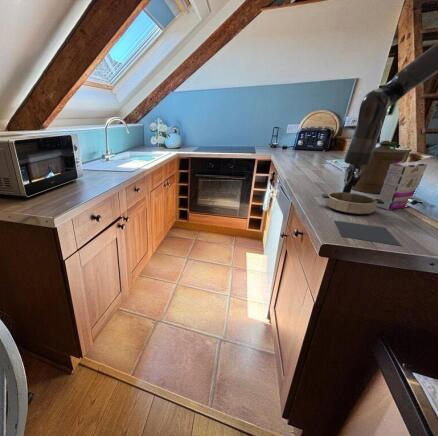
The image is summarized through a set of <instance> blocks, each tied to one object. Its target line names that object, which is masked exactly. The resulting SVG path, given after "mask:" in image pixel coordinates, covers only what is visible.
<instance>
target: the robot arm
mask: <svg viewBox="0 0 438 436" xmlns="http://www.w3.org/2000/svg"><path fill="white" fill-rule="evenodd" d="M437 73H438V42H437V43H435V44H433V45H432V46H431V47H429V48H428V49H427V50H426V51H424V52H422V53H421V54H420V55H419V56H418V57H416V58H415V59H413V60H412V61H411V62H410V63H408V64H407V65H406V66H404V67H403V68H402V69H400V70H399V71H398V72H397V73H396V74H395V75H394V77H393V78H392V79H391V80H389V81H388V82H387V83H386V84H384V85H383V86H382V87H380V88H377V89H372V90H371V91H369V92H368V93H366V94H365V96H364V97H363V98H362V100H361V102H360V105H359V110H358V116H357V123H356V125H355V128H354V132H353V134H352V138H351V140H350V142H349V145H348V148H347V151H346V154H345V157H344V161H343V162H344V164H347V165H348V166H347V167H346V168H345V170H344V178H343V185H344V186H343V189H342V191H341V192H345V193H352V190H353V189H352V187H353V186H355V185H356V184H357V182H358V181H359V179H360V178H361V175H360V174H361V172H362V170H361V166H362V165H368V164H369V163H370V161H371V158H372V155H373V153H374V150H375V147H376V145H377V144H378V138H379V136H380V133H381V132H382V128H383V118H384V115H385V112H386V110H387V109H388V108H390V107H391V106H393V105H395V103H397V102H398V101H399V100H401V99H402V98H403V97H404V96H405V95H407V94H408V93H409V92H411V91H412V90H413V89H416V88H417V87H418V86H420V85H421V84H422V83H424V82H426V81H427V80H429V79H430V78H432V77H433V76H434V75H436V74H437Z"/></svg>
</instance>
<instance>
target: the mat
mask: <svg viewBox="0 0 438 436" xmlns="http://www.w3.org/2000/svg"><path fill="white" fill-rule="evenodd" d="M334 224H335V226H336V227H337V230H338V232H339V234H340V236H341V238H347V239H354V240H361V241H366V242H372V243H373V242H374V243H379V244H387V245H392V246H399V247H402V244H401V243H400V242H399V241H398V240H397V239H396V238H395V236H394V235H393V234H392V233H391V232H390V231H389V230H388V229H387V228H386V227H385V226H377V225H371V224H362V223H356V222H348V221H342V220H341V221H340V220H334Z"/></svg>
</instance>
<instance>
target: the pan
mask: <svg viewBox="0 0 438 436" xmlns="http://www.w3.org/2000/svg"><path fill="white" fill-rule="evenodd" d="M321 197H322V199H325V203H324V204H325V206H326V207H327V208H328V209H330V210H333V211H335V212H340V213H345V214H350V215H363V216H365V215H370V214H372V213H374V212H375V210H376V208H377V207H376V205H377V203H379V204H384V202H383V201H382V200H381V199H378V198H374V197H371V196H368V195H365V194H359V193H355V192H354V193H353V192H350V193H345V192H342V191H336V192H335V191H334V192H329V193H321Z"/></svg>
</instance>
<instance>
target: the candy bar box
mask: <svg viewBox="0 0 438 436" xmlns="http://www.w3.org/2000/svg"><path fill="white" fill-rule="evenodd" d="M427 166H428V163H425V162H420V161H419V162H417V161H407V162H402V163H395V164H390V166H389V169H388V172H387V174H386V177H385V180H384V184H383V186H382V189H381V192H380V194H378V198H377V199H381V200H382V201H383V202H384V204H379V203H377V205H376V208H378V209H383V210H387V211H394V210H399V209H405V208H404V207H405V206H406V204H407V203H408V202H407V201H408V199H410V198H411V197H412V196H413V194H414V192H415V190H416V188H417V187H418V188H419V186H418V185H420V183H421V181H422V178H423V175H424V173H425V171H426V168H427ZM418 188H417V189H418Z"/></svg>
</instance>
